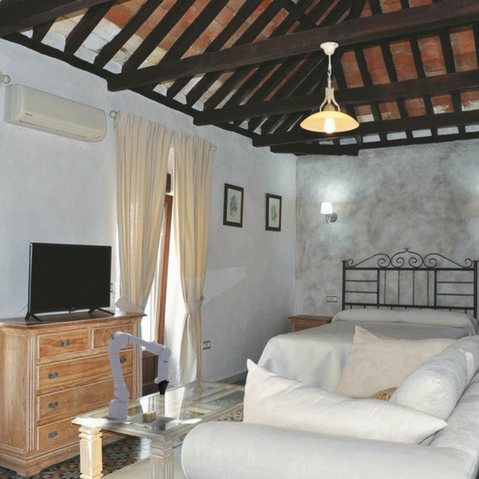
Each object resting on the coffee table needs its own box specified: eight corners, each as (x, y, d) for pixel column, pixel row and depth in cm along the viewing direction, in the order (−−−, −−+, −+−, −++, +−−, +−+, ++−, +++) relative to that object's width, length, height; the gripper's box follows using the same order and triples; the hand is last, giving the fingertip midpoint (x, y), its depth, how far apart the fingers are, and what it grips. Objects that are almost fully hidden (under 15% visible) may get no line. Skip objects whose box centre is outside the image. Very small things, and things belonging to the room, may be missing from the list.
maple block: (149, 417, 295) (142, 420, 288) (149, 410, 295) (142, 413, 288) (155, 418, 293) (148, 421, 287) (155, 411, 294) (148, 414, 287)
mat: (124, 422, 285) (124, 421, 285) (142, 413, 302) (142, 413, 302) (159, 427, 278) (159, 426, 278) (176, 419, 295) (176, 418, 295)
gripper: (163, 371, 296) (162, 398, 295) (176, 367, 309) (175, 393, 308) (151, 370, 298) (150, 396, 297) (164, 366, 312) (163, 391, 311)
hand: (162, 394), depth 303 cm, fingers closed
